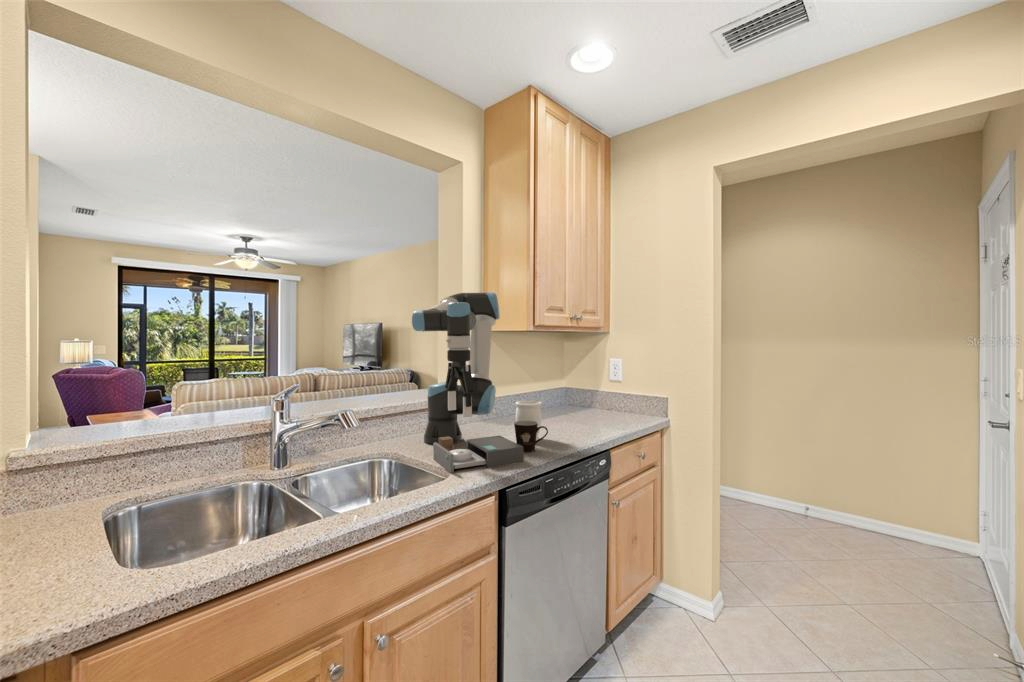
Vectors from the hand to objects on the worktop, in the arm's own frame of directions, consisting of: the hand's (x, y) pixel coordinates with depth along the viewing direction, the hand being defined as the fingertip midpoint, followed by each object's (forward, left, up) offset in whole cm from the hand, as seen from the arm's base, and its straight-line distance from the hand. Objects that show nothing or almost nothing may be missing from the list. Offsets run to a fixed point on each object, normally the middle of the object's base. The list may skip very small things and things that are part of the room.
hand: (459, 413), depth 148 cm
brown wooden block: (-11, -1, -17) cm, 20 cm away
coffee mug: (-2, +28, -17) cm, 33 cm away
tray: (0, 0, -17) cm, 17 cm away
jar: (-17, +36, -17) cm, 43 cm away
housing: (0, +13, -17) cm, 21 cm away
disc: (0, 0, -15) cm, 15 cm away
